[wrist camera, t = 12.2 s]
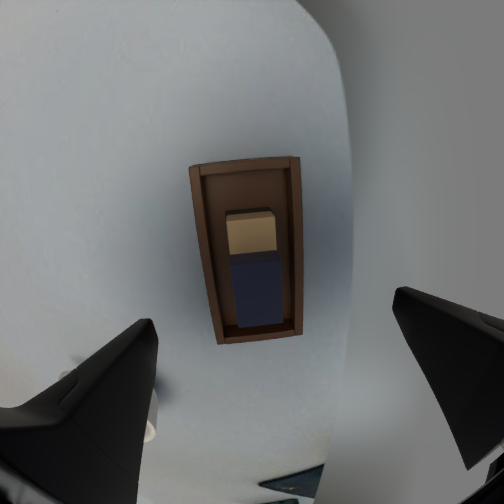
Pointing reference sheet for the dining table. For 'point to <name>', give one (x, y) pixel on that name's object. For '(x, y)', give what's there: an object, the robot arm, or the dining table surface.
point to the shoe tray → (216, 244)
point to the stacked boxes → (255, 266)
